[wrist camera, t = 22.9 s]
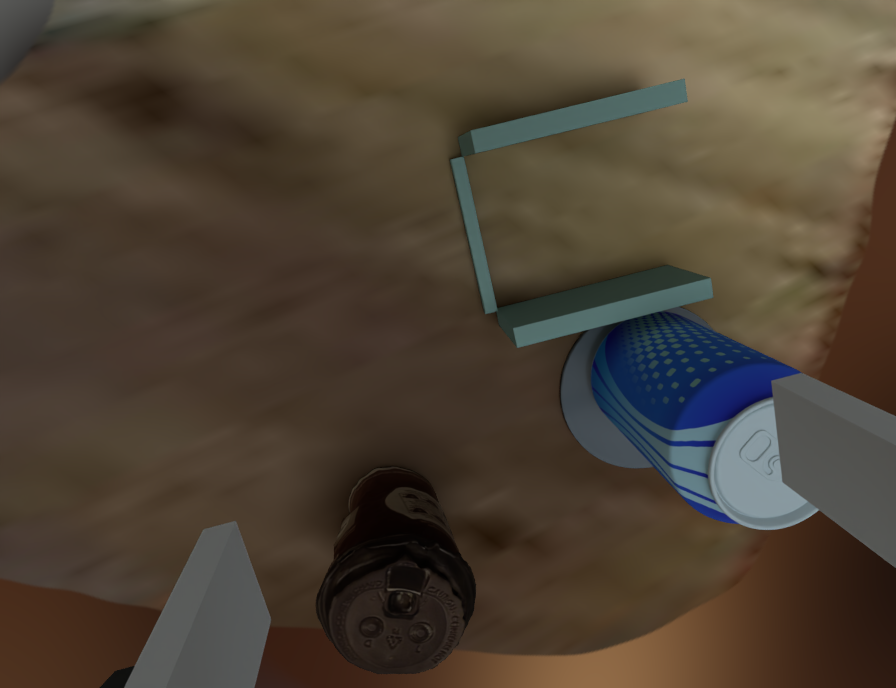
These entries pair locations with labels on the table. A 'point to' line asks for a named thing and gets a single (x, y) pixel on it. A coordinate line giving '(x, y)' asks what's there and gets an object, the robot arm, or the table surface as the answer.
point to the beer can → (699, 416)
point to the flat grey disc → (582, 406)
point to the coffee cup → (395, 578)
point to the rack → (590, 301)
